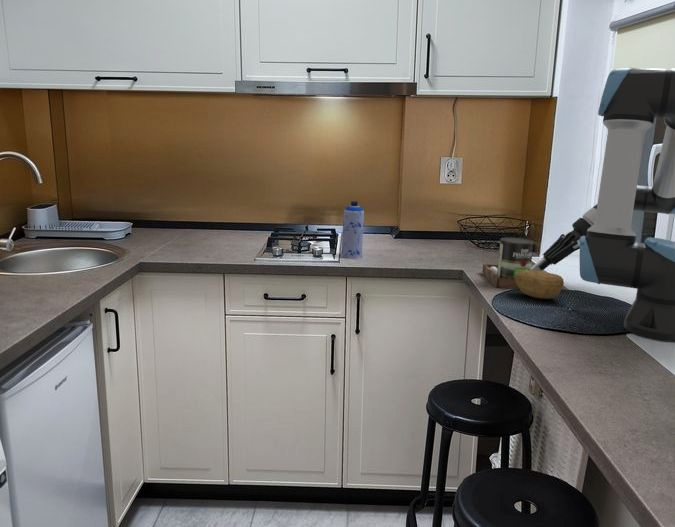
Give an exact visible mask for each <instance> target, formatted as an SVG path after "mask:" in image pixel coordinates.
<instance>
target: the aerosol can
mask: <svg viewBox="0 0 675 527" xmlns="http://www.w3.org/2000/svg"><path fill="white" fill-rule="evenodd" d="M364 222H365V211H364V209H363V207H361V206H360V205H359V204H358V201H355V200H354V201H353V200H352V201H351V202H350V204H349V205H348V206H346V207H345V208H344V209H343V218H342V233H341V254H340V257H341V258H345V259H349V260H356V259H358V260H359V259H361V258H363V244H364V242H363V240H364Z"/></svg>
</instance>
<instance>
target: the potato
mask: <svg viewBox="0 0 675 527" xmlns="http://www.w3.org/2000/svg"><path fill="white" fill-rule="evenodd" d="M515 280H516V284H517V286H518V287H519V289H518V290H520V292H522V293H523V294H525V295H526V296H529V297H530V298H533V297H534V299H537V298H539V299H538V300H543V299H544V300H550V299H552V298H555V297H556V296H558V295H560V293H561V292H562V290H563V288H564V284H565V282H564V278H563V277H562V276H561V275H559V274H556V273H551V272H548V271H544V270H543V271H532V270H524V271H521V272H519V273H518V274H517V275H516V278H515Z"/></svg>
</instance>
